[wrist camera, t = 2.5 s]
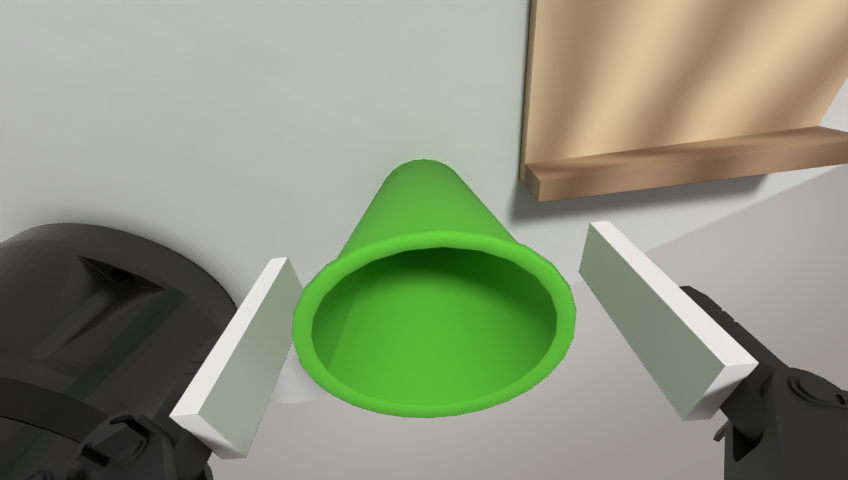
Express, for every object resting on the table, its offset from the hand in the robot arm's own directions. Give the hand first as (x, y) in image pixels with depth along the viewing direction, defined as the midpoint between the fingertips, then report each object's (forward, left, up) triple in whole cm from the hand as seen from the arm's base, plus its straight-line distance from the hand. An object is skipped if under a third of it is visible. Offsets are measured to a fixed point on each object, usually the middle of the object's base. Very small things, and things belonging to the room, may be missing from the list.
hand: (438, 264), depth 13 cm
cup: (0, 0, -7) cm, 7 cm away
